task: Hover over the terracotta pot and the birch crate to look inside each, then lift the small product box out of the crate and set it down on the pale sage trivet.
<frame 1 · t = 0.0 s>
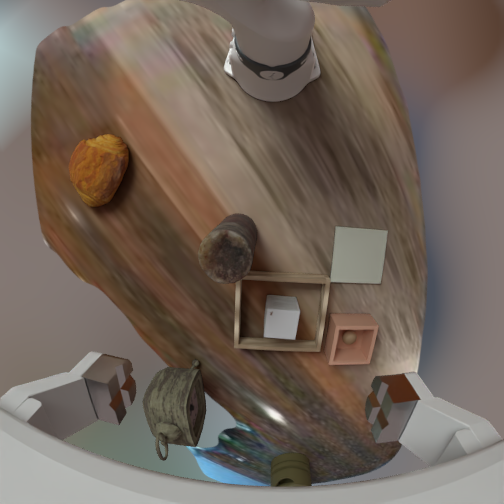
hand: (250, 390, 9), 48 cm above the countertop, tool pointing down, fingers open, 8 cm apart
piston: (289, 462, 70), on the countertop
product box: (280, 308, 59), resting in crate
grey brown tall cylinder: (238, 233, 56), on the countertop
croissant: (103, 167, 55), on the countertop
trivet: (358, 255, 56), on the countertop
cork ball: (349, 337, 57), point 2 cm above the countertop, touching pot
pot: (346, 332, 59), on the countertop
crate: (280, 309, 59), on the countertop
tabletop clock: (188, 377, 64), on the countertop
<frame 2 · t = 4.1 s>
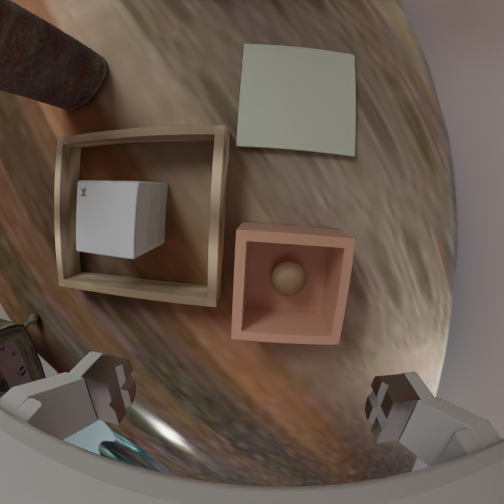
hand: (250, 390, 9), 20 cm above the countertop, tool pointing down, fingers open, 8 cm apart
product box: (140, 211, 28), resting in crate
grey brown tall cylinder: (84, 84, 25), on the countertop
trivet: (298, 96, 25), on the countertop
cork ball: (288, 278, 26), point 2 cm above the countertop, touching pot
pot: (287, 271, 28), on the countertop
crate: (139, 211, 28), on the countertop
tabletop clock: (35, 345, 33), on the countertop
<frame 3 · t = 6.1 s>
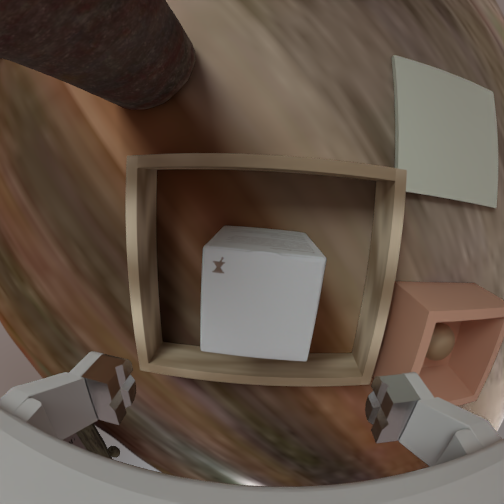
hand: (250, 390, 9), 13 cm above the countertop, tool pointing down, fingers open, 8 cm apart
product box: (261, 267, 22), resting in crate
grey brown tall cylinder: (154, 72, 19), on the countertop
trivet: (451, 133, 18), on the countertop
cork ball: (437, 341, 20), point 2 cm above the countertop, touching pot
pot: (426, 330, 22), on the countertop
crate: (261, 268, 21), on the countertop
tabletop clock: (85, 413, 27), on the countertop
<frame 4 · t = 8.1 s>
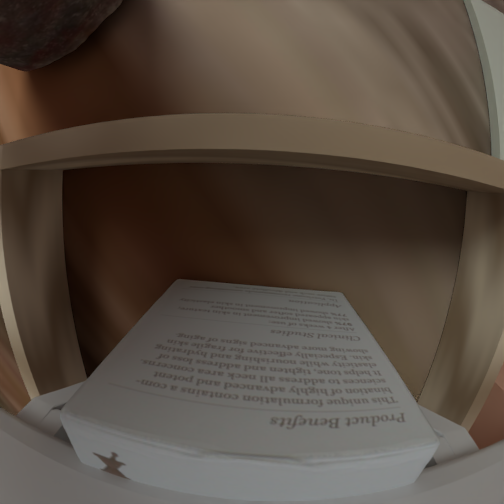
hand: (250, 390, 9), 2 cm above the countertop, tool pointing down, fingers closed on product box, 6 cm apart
product box: (254, 354, 11), resting in crate, touching gripper
grey brown tall cylinder: (78, 14, 8), on the countertop
pot: (491, 409, 11), on the countertop
crate: (254, 357, 11), on the countertop
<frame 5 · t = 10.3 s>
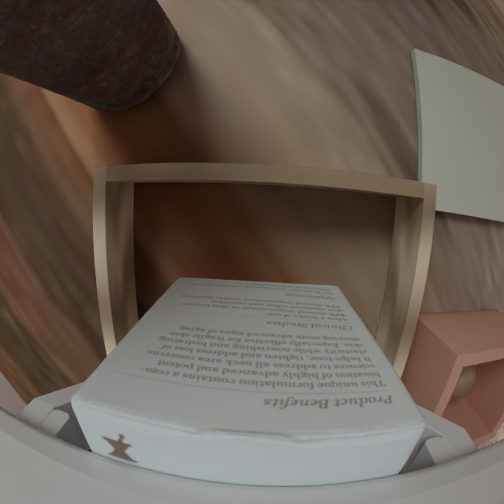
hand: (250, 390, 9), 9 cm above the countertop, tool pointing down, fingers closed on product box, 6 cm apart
product box: (255, 348, 11), point 6 cm above the countertop, touching gripper
grey brown tall cylinder: (133, 68, 15), on the countertop
trivet: (477, 140, 15), on the countertop
cork ball: (456, 378, 16), point 2 cm above the countertop, touching pot
pot: (444, 363, 18), on the countertop
crate: (258, 302, 18), on the countertop
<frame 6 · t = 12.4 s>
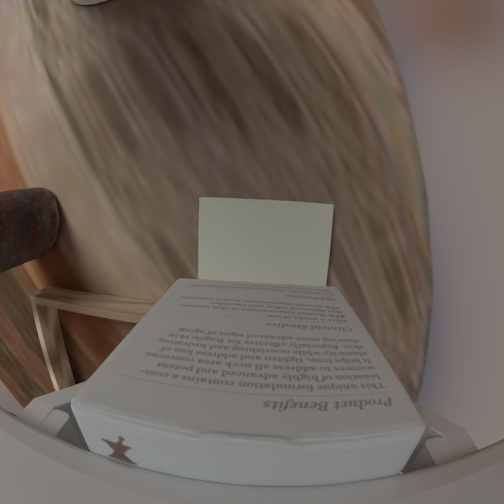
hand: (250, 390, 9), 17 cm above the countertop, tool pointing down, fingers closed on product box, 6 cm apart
product box: (255, 349, 11), point 14 cm above the countertop, touching gripper
grey brown tall cylinder: (43, 222, 26), on the countertop
trivet: (263, 264, 25), on the countertop
crate: (119, 360, 28), on the countertop
when the fingers open (4 cm above the countertop, at t = 15.3 s): product box stays where it is, resting on trivet.
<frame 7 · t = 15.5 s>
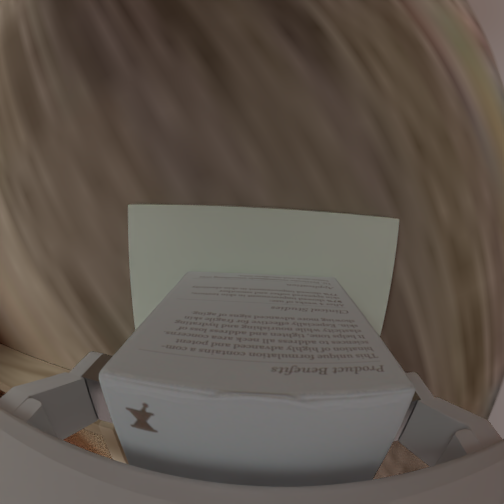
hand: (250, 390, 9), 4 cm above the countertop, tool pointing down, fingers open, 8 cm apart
product box: (259, 338, 12), resting on trivet
trivet: (256, 334, 13), on the countertop
crate: (59, 434, 16), on the countertop
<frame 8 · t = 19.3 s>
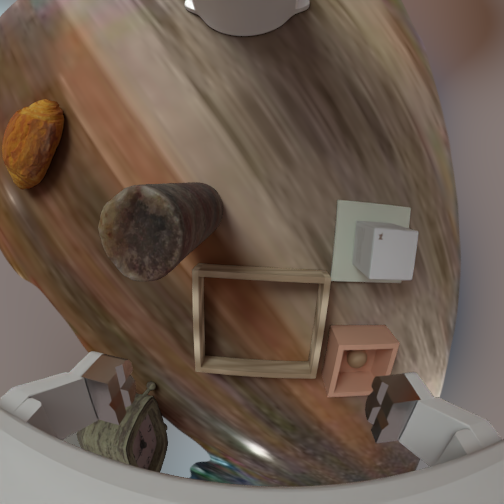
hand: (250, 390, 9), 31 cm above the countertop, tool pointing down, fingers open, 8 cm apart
product box: (373, 243, 38), resting on trivet
grey brown tall cylinder: (197, 210, 39), on the countertop
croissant: (39, 141, 38), on the countertop
trivet: (371, 242, 38), on the countertop
cork ball: (356, 357, 40), point 2 cm above the countertop, touching pot
pot: (353, 350, 42), on the countertop
crate: (259, 319, 42), on the countertop
tabletop clock: (145, 402, 47), on the countertop
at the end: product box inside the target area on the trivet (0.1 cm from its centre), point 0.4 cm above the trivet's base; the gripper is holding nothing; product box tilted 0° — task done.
